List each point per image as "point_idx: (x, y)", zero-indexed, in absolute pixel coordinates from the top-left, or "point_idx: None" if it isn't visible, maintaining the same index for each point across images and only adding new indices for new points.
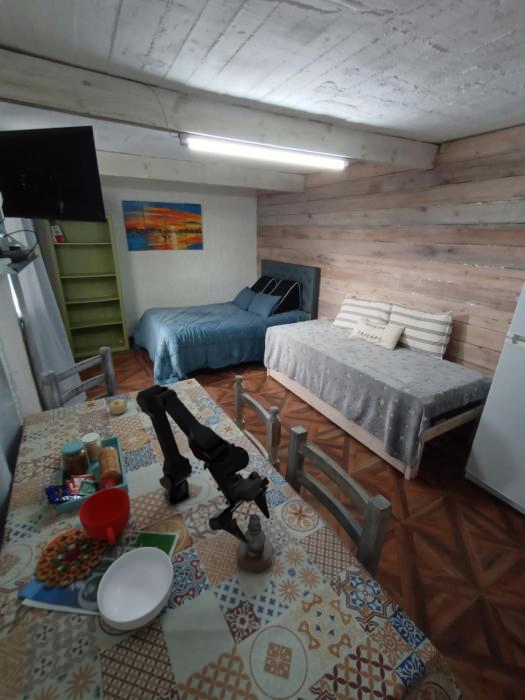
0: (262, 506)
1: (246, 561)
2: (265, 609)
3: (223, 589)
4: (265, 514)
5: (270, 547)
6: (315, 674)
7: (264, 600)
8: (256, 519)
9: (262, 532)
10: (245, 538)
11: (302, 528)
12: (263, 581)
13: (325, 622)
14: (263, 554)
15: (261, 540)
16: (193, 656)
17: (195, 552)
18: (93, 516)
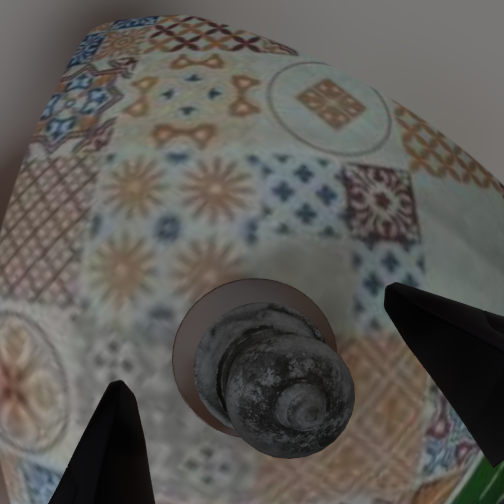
0: (120, 482)
1: (327, 321)
2: (313, 186)
3: None
4: (131, 421)
5: (191, 319)
6: (275, 58)
7: (304, 206)
8: (295, 363)
9: (203, 372)
10: (412, 296)
11: (34, 337)
12: (276, 257)
13: (189, 93)
14: None
15: (242, 325)
16: (482, 210)
17: (424, 461)
18: None
